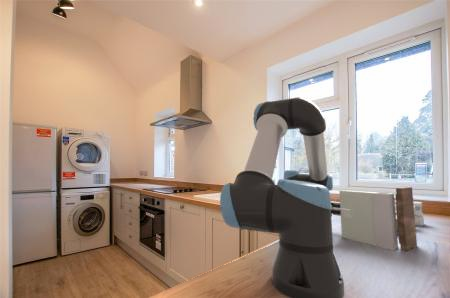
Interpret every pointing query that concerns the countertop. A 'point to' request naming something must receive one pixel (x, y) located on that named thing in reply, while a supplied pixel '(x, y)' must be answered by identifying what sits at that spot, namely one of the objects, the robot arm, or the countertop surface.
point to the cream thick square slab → (370, 218)
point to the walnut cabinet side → (405, 218)
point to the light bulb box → (418, 213)
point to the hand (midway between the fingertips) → (359, 211)
